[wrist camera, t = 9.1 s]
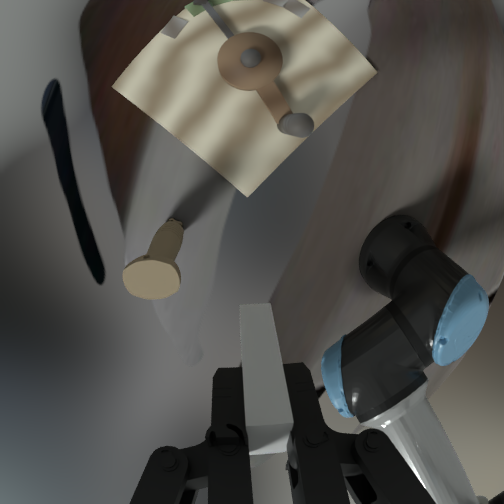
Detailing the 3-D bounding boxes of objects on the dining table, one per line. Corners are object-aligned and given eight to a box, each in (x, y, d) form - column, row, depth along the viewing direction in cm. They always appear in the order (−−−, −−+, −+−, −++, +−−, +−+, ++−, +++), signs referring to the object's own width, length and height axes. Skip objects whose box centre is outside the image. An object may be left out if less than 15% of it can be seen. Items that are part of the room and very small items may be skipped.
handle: (151, 215, 40) (117, 263, 26) (191, 209, 40) (174, 257, 27) (157, 244, 42) (130, 300, 29) (196, 239, 42) (184, 296, 29)
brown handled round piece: (172, 9, 24) (159, -13, 17) (223, -16, 23) (222, -42, 16) (266, 146, 35) (276, 153, 28) (316, 120, 34) (337, 121, 27)
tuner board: (373, 73, 32) (378, 72, 31) (246, 195, 40) (247, 197, 38) (248, -36, 22) (248, -40, 21) (113, 86, 30) (109, 85, 29)
